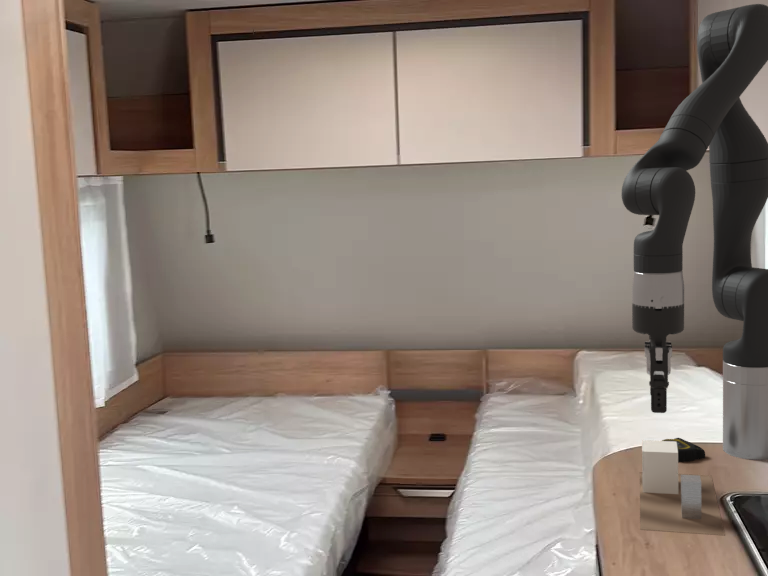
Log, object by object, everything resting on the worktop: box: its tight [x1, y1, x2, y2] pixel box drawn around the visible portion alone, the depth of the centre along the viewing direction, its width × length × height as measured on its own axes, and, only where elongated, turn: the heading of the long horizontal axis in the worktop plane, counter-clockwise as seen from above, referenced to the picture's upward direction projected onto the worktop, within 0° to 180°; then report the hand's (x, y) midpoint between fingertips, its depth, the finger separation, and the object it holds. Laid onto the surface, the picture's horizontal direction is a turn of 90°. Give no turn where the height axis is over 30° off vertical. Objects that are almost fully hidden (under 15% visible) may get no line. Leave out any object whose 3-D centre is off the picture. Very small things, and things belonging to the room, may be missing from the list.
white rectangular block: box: [641, 439, 679, 494], centre depth 130 cm, size 5×5×7 cm
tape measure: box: [661, 437, 706, 463], centre depth 143 cm, size 7×7×4 cm
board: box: [639, 471, 726, 536], centre depth 125 cm, size 22×11×2 cm, turn 163°
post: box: [681, 474, 701, 519], centre depth 119 cm, size 3×3×6 cm
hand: (658, 404), depth 128 cm, fingers open, 8 cm apart
